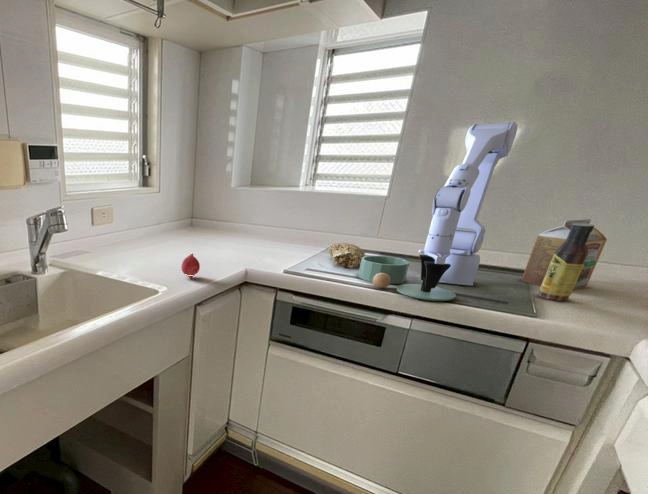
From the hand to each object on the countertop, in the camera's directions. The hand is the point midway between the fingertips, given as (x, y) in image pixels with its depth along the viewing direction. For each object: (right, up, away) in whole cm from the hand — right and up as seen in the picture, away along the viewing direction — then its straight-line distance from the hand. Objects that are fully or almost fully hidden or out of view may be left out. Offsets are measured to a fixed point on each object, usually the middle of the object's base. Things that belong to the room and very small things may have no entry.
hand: (427, 284), depth 111 cm
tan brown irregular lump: (-5, +12, +37) cm, 39 cm away
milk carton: (+45, +1, +10) cm, 46 cm away
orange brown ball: (-9, 0, +7) cm, 12 cm away
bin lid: (0, -2, +1) cm, 3 cm away
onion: (-64, +4, +18) cm, 67 cm away
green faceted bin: (-3, +4, +17) cm, 17 cm away
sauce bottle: (+32, -4, -2) cm, 33 cm away
